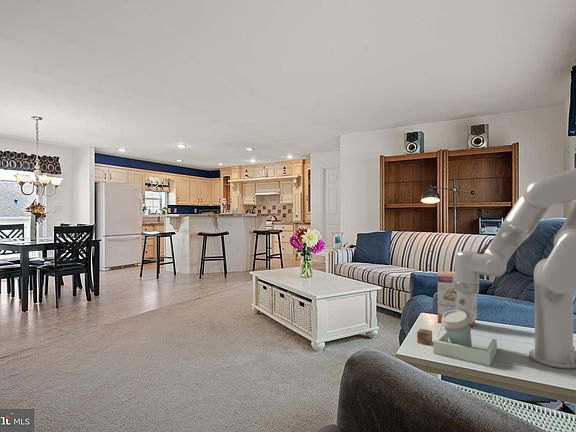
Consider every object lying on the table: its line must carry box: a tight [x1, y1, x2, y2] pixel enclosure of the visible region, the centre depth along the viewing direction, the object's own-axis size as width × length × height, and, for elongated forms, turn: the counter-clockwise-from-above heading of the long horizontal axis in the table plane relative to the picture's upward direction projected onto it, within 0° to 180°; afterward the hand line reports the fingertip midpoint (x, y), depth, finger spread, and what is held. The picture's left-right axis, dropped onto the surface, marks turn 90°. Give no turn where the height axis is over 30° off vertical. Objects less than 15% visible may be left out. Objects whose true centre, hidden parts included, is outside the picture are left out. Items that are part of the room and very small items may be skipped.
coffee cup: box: [441, 310, 473, 348], centre depth 117 cm, size 9×9×12 cm
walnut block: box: [416, 328, 433, 346], centre depth 126 cm, size 4×4×4 cm
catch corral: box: [432, 329, 498, 367], centre depth 117 cm, size 16×14×4 cm
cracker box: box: [437, 270, 476, 327], centre depth 147 cm, size 14×6×21 cm, turn 67°
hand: (464, 340), depth 122 cm, fingers closed
